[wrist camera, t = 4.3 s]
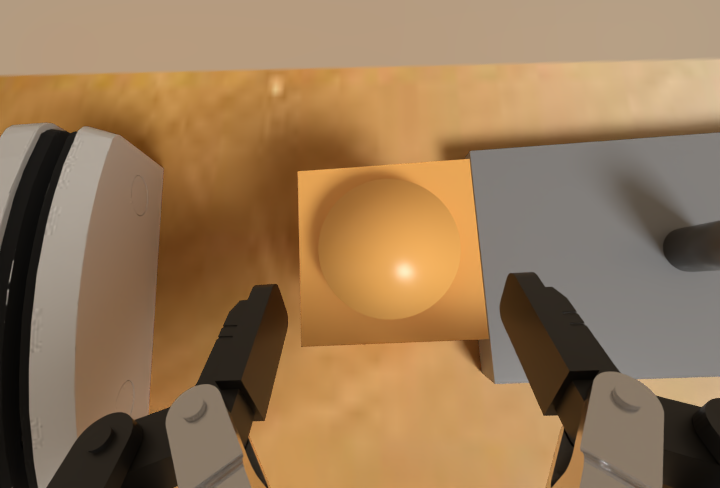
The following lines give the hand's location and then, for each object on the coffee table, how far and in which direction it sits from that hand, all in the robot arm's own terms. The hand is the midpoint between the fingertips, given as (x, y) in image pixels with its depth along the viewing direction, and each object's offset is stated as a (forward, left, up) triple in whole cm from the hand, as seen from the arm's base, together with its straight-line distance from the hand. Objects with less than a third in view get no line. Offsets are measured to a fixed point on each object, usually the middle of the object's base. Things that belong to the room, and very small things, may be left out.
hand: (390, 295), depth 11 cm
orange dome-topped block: (0, +1, -7) cm, 7 cm away
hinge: (-15, +1, -7) cm, 17 cm away
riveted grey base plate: (+15, +1, -7) cm, 17 cm away
